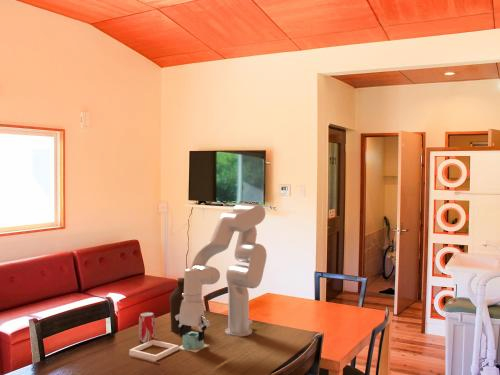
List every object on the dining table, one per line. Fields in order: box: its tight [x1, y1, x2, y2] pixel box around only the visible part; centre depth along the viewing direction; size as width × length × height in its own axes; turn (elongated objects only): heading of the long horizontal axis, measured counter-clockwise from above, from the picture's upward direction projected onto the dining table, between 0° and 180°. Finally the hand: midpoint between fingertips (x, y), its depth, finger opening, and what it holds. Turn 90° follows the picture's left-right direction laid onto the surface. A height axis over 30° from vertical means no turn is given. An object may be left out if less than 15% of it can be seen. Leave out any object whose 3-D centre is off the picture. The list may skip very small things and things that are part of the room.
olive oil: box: [169, 277, 192, 334], centre depth 224 cm, size 11×11×25 cm
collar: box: [181, 330, 205, 351], centre depth 202 cm, size 8×6×5 cm
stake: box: [179, 343, 210, 353], centre depth 203 cm, size 10×10×5 cm
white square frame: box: [128, 339, 180, 363], centre depth 196 cm, size 14×14×2 cm
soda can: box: [138, 311, 156, 344], centre depth 211 cm, size 7×7×12 cm
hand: (191, 338), depth 202 cm, fingers open, 9 cm apart
